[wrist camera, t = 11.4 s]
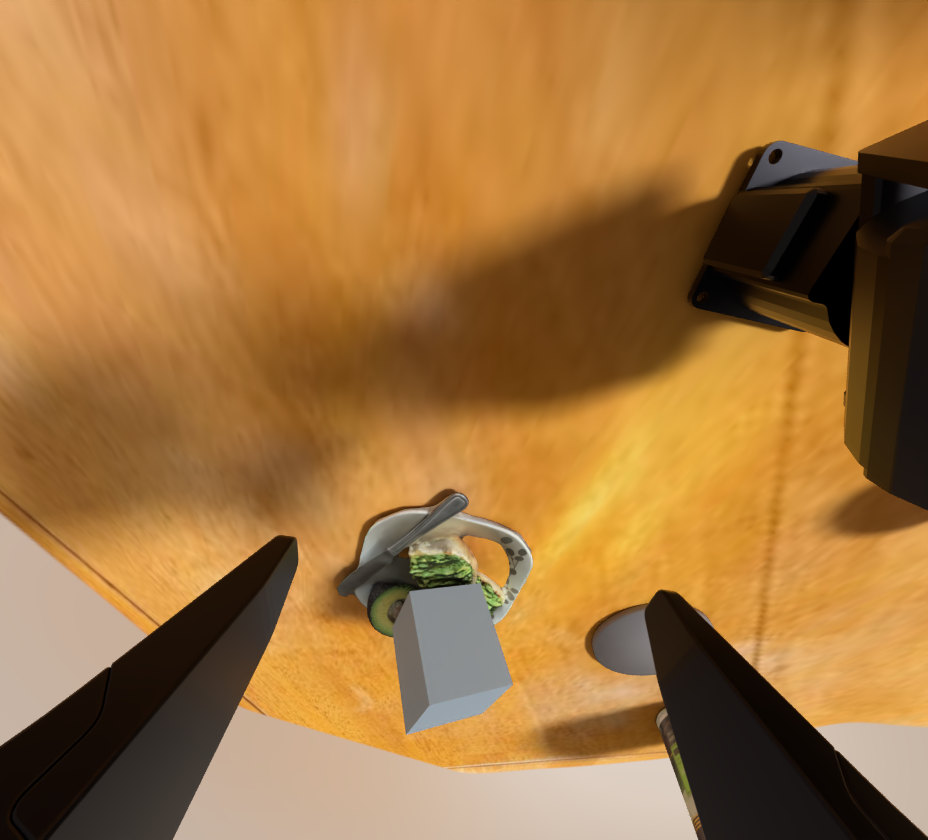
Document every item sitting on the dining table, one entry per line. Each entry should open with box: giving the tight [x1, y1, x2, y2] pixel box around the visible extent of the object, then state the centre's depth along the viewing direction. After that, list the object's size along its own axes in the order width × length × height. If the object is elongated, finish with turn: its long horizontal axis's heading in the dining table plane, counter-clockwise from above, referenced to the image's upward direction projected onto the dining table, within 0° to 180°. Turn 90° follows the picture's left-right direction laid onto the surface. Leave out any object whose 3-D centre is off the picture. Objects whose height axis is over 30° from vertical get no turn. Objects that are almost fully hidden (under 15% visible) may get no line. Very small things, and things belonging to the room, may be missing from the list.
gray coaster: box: [592, 604, 714, 675], centre depth 32 cm, size 10×10×1 cm
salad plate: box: [337, 493, 533, 637], centre depth 27 cm, size 15×14×4 cm
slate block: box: [392, 583, 513, 735], centre depth 23 cm, size 5×5×6 cm
